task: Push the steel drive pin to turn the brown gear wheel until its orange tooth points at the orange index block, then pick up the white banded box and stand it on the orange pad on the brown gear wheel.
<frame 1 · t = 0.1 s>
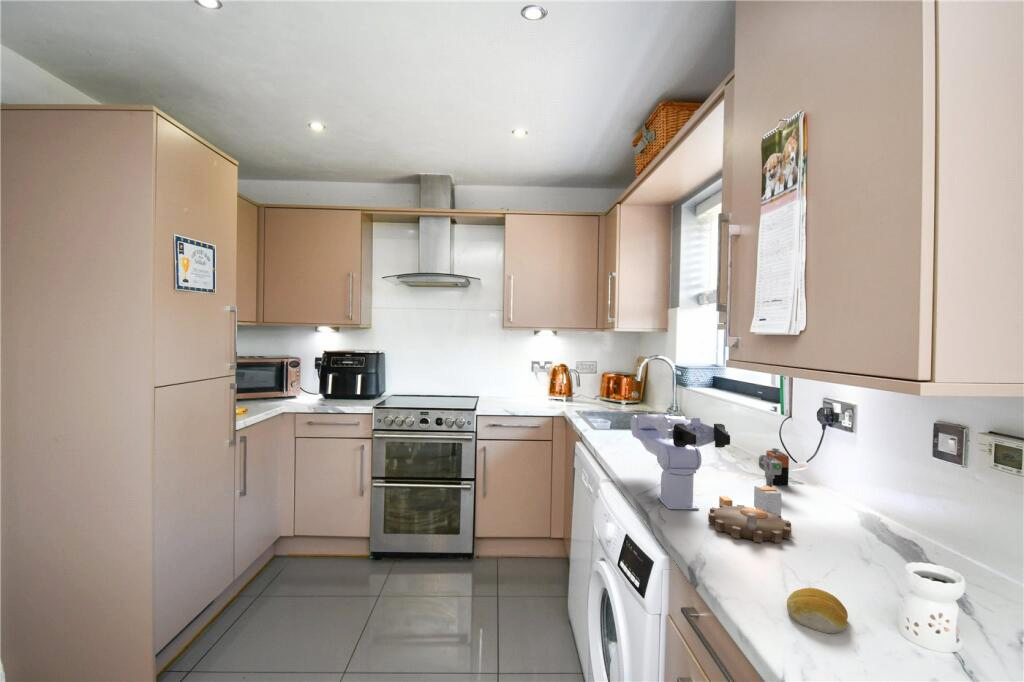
hand: (711, 439, 107), 22 cm above the countertop, tool horizontal, fingers open, 7 cm apart
bread roll: (817, 620, 76), on the countertop
white banded box: (767, 512, 121), on the countertop
battery: (776, 483, 147), on the countertop
brown gear wheel: (748, 515, 111), point 3 cm above the countertop, hinge at 0.0°
mechanical component: (769, 493, 137), on the countertop
index block: (725, 509, 123), on the countertop
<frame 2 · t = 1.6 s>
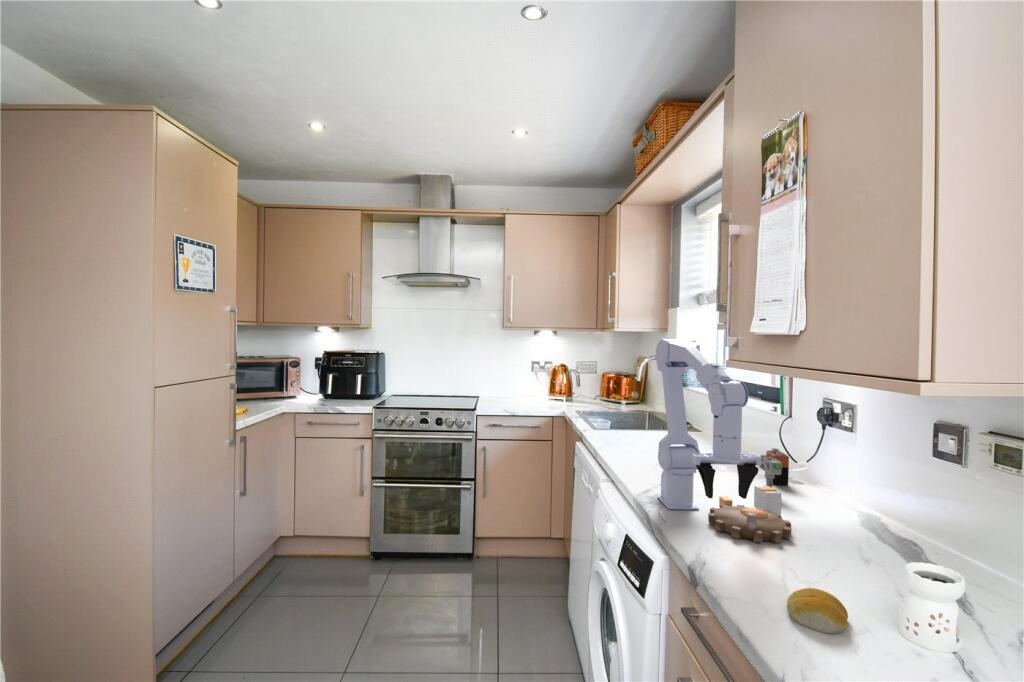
hand: (725, 497, 105), 9 cm above the countertop, tool pointing down, fingers open, 7 cm apart
nothing on the countertop moved.
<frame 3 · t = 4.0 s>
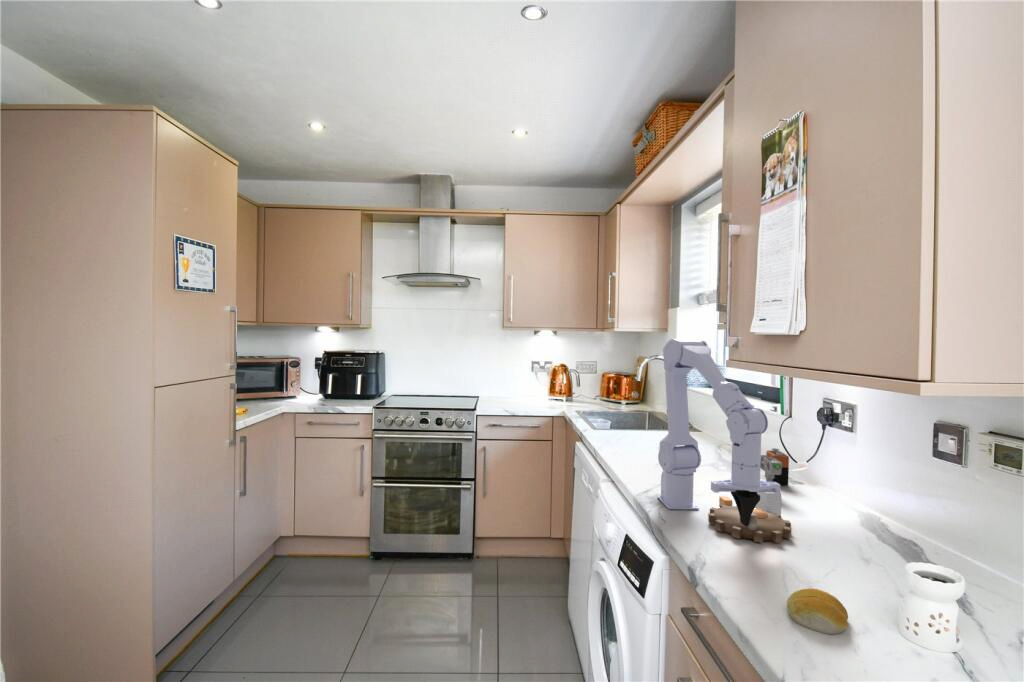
hand: (744, 524, 105), 3 cm above the countertop, tool pointing down, fingers closed, pressing on brown gear wheel
brown gear wheel: (748, 515, 111), point 3 cm above the countertop, hinge at 0.5°, touching gripper
everything else where it was.
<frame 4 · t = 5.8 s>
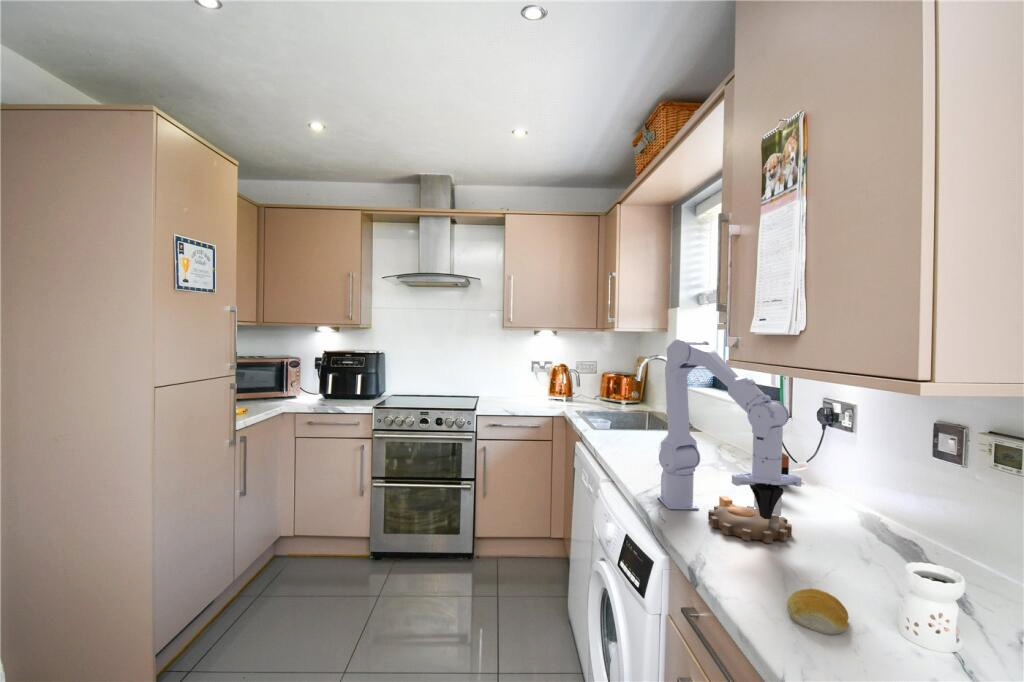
hand: (765, 517, 105), 5 cm above the countertop, tool pointing down, fingers closed
brown gear wheel: (748, 515, 111), point 3 cm above the countertop, hinge at 44.6°
everything else where it was.
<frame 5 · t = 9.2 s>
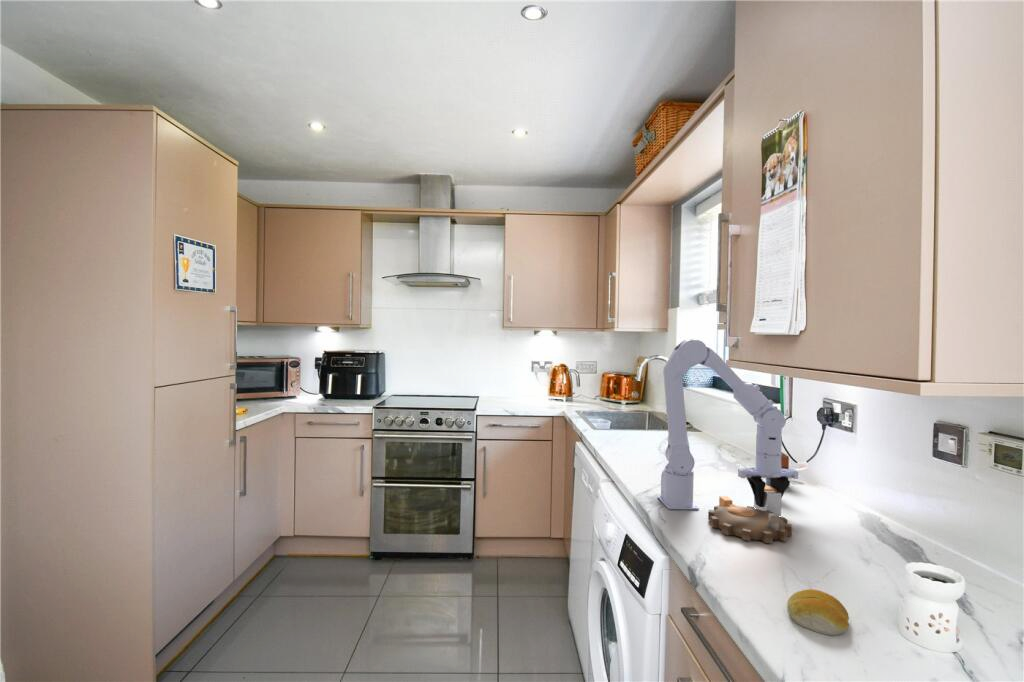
hand: (767, 505, 121), 2 cm above the countertop, tool pointing down, fingers closed on white banded box, 4 cm apart
white banded box: (767, 512, 121), on the countertop, touching gripper
everything else where it was.
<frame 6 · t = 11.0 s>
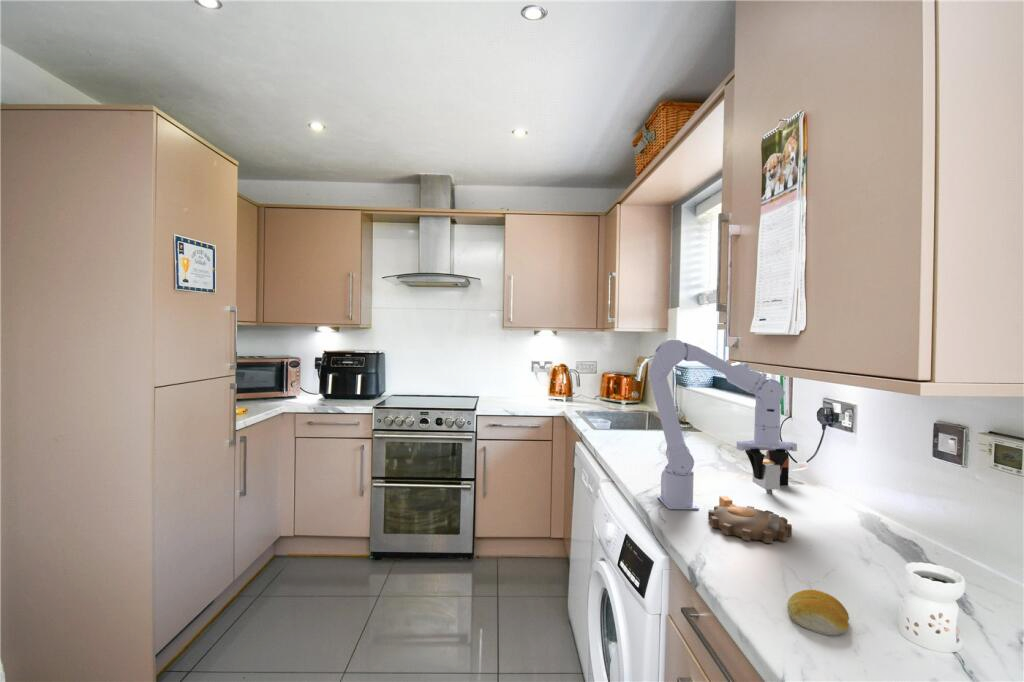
hand: (765, 478, 121), 9 cm above the countertop, tool pointing down, fingers closed on white banded box, 4 cm apart
white banded box: (765, 485, 121), point 7 cm above the countertop, touching gripper
everything else where it was.
when the fingers open (5 cm above the countertop, at t = 13.0 s): white banded box drops 1 cm, resting on brown gear wheel.
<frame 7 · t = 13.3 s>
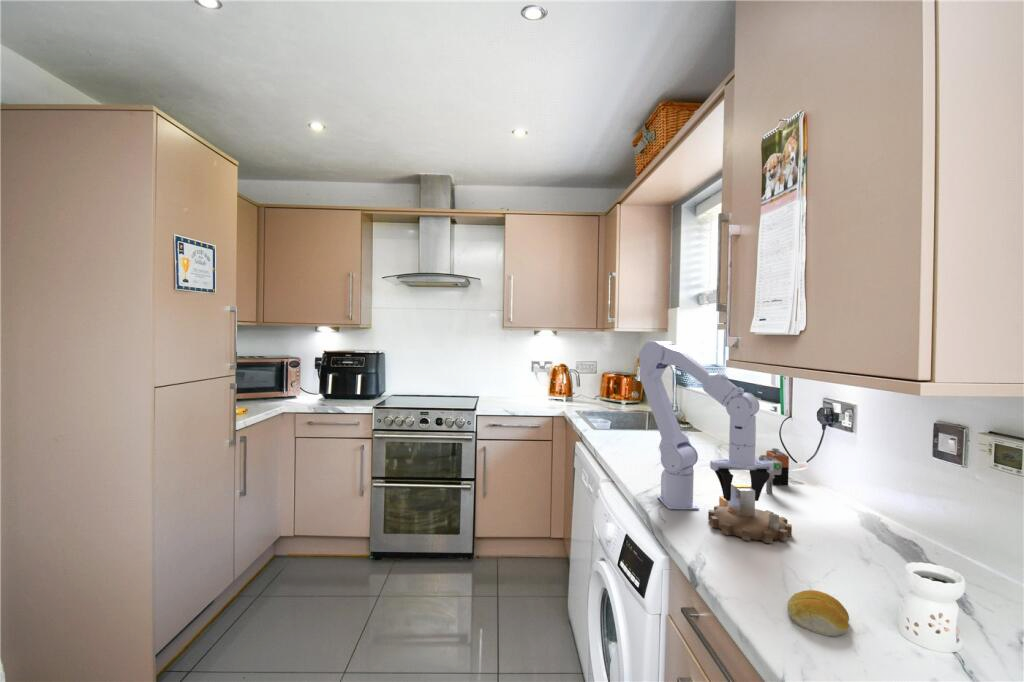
hand: (740, 499, 115), 5 cm above the countertop, tool pointing down, fingers open, 6 cm apart
white banded box: (740, 511, 115), point 3 cm above the countertop, touching brown gear wheel
brown gear wheel: (748, 515, 111), point 3 cm above the countertop, hinge at 44.7°, touching white banded box
everything else where it was.
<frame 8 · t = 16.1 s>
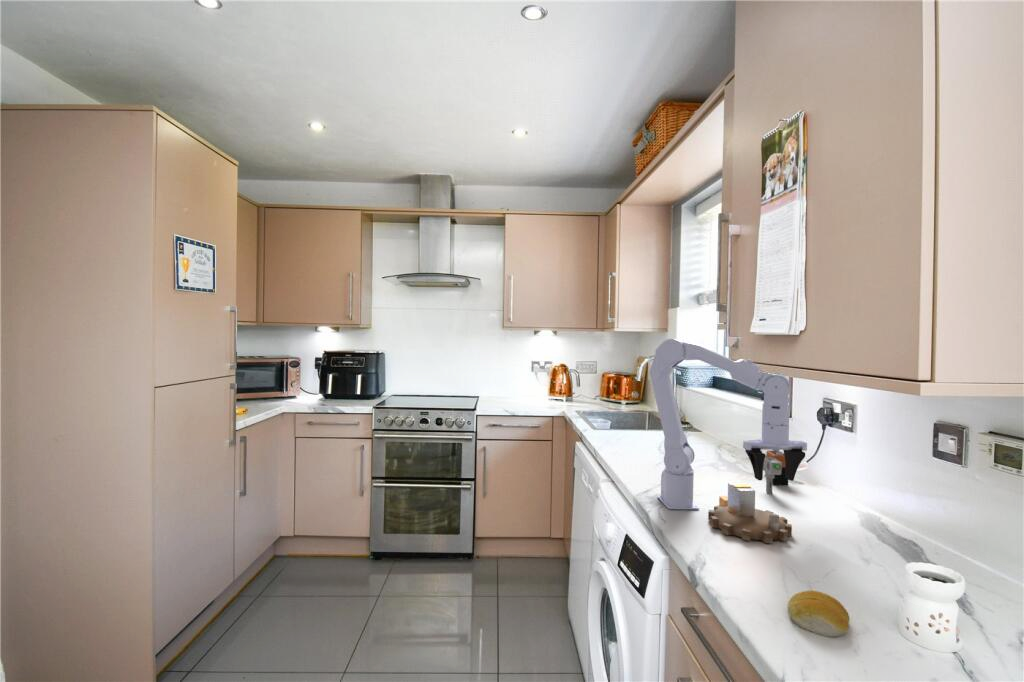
hand: (774, 479, 115), 10 cm above the countertop, tool pointing down, fingers open, 7 cm apart
nothing on the countertop moved.
at the end: brown gear wheel at +45° (first picture: +0°); white banded box 0.1 cm from the target spot, point 2.6 cm above the countertop; white banded box tilted 0° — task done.
